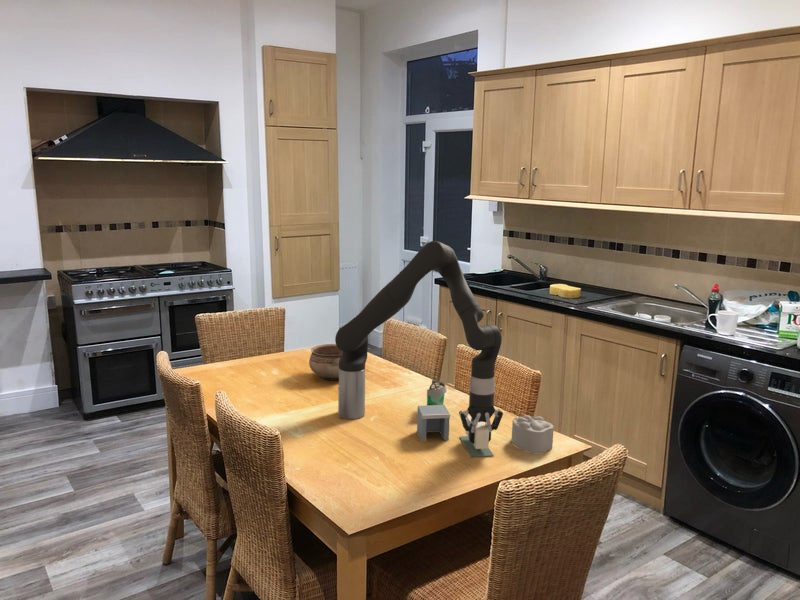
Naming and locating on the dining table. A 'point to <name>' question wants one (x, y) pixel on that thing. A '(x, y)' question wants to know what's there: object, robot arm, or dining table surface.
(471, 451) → the rubber mat
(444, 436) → the dispenser sleeve
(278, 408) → the dining table surface
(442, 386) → the food container
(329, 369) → the cooking pot
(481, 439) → the tall cream rectangular prism
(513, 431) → the lumpy-topped squat cylinder
